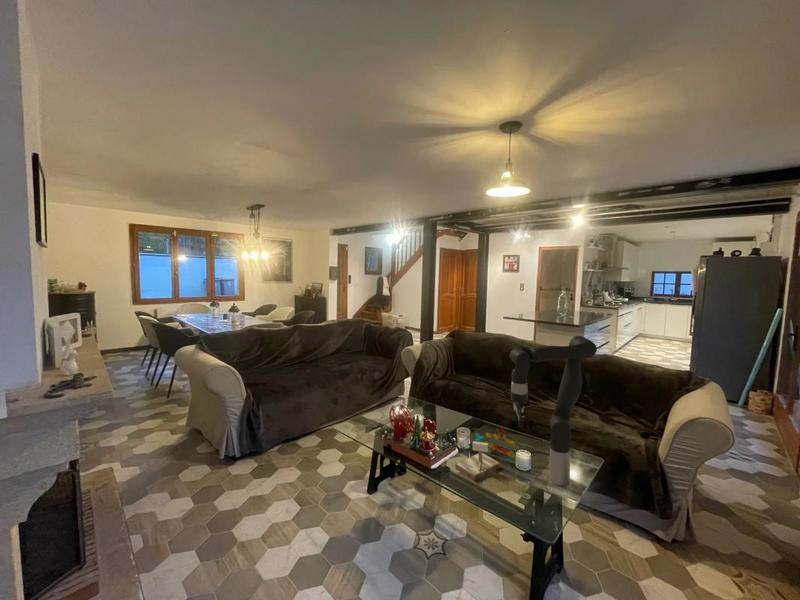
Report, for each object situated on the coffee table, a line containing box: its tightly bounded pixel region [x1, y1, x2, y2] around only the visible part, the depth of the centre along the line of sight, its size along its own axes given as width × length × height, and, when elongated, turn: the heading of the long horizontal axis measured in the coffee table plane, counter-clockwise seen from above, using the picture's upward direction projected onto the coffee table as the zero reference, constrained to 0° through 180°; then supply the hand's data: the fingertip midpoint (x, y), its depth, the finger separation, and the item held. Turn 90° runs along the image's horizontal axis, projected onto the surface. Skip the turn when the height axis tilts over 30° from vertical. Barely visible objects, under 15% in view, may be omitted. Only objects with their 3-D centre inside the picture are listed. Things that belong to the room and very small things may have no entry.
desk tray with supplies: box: [454, 452, 501, 482], centre depth 190 cm, size 20×14×3 cm
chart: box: [474, 426, 519, 460], centre depth 207 cm, size 30×3×15 cm, turn 43°
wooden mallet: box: [472, 440, 489, 471], centre depth 187 cm, size 10×8×10 cm
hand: (518, 423), depth 169 cm, fingers open, 8 cm apart
